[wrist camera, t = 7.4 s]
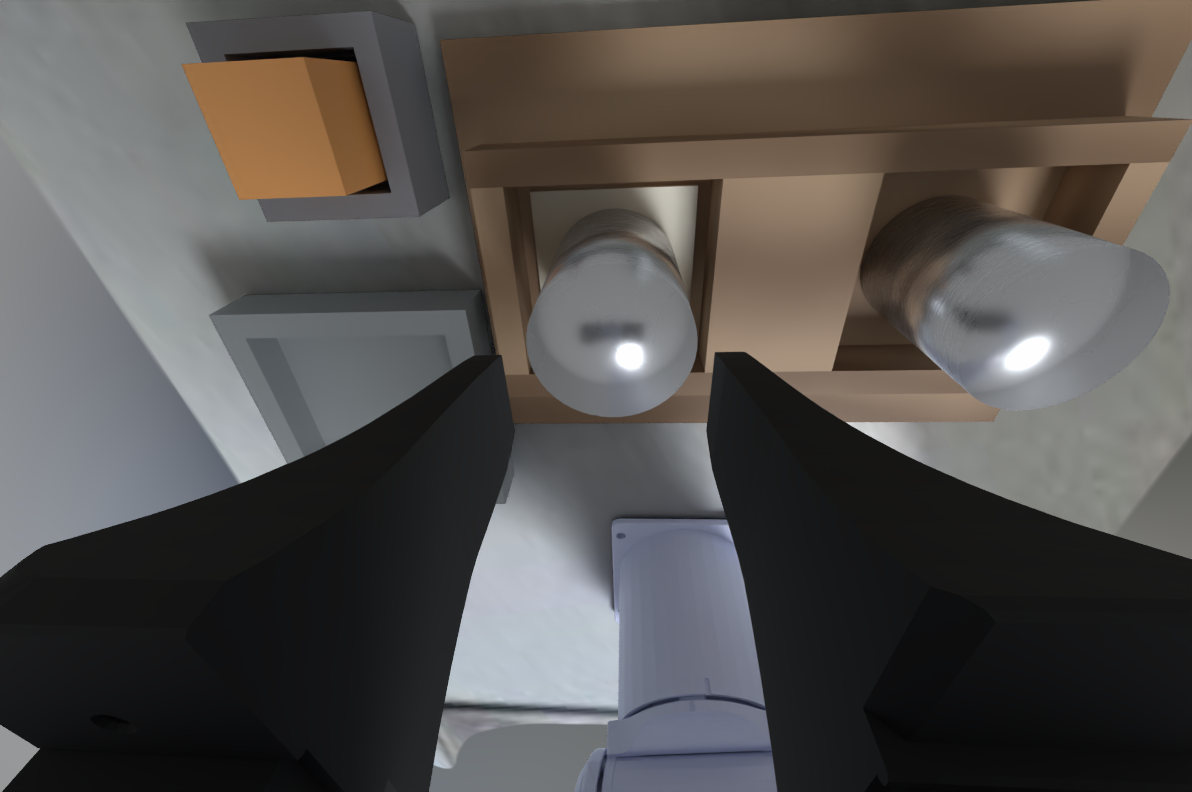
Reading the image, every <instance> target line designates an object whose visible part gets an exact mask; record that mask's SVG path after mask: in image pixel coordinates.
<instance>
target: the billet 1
mask: <svg viewBox="0 0 1192 792" xmlns="http://www.w3.org/2000/svg"><path fill="white" fill-rule="evenodd" d="M697 341H698V338H697V329H696V325H695V321H694V317H693V314H692V311H691V307H690V304H689V301H688V297H687V294H686V291H685V287H684V284H683V280H682V277H681V274H680V270H679V267H678V264H677V260H676V257H675V254H674V250H673V248H672V245H671V243H670V241H669V239H668V237H667V236H666V234H665V233H664V231H663V230H662V229H661V228H660V227H659V226H658V225H657V224H656V223H655V222H654V221H652V220H651V219H650V218H648V217H646V216H644V215H643V214H641V213H638V212H635V211H632V210H627V209H619V208H612V209H604V210H599V211H597V212H594V213H591V214H589V215H587V216H585V217H583V218H582V219H581V220H579V221H578V222H577V223H575V224H574V225H573V226H572V227H571V228H570V230H569V231H568V232H567V233H566V235H565V236H564V238H563V240H562V241H561V244H560V246H559V248H558V251H557V253H556V255H555V258H554V260H553V263H552V265H551V267H550V270H549V272H548V275H547V277H546V280H545V282H544V284H543V287H542V289H541V292H540V294H539V297H538V299H537V301H536V304H535V306H534V309H533V311H532V313H531V316H530V319H529V323H528V327H527V335H526V345H527V352H528V357H529V360H530V363H531V366H532V368H533V371H534V373H535V375H536V376H537V378H538V379H539V381H540V382H541V384H542V385H543V386H544V387H545V388H546V389H547V391H548V392H550V393H551V394H552V395H553V396H554V397H555V398H556V399H558V400H559V401H561V402H562V403H564V404H565V405H567V406H569V407H571V408H573V409H575V410H578V411H580V412H583V413H587V414H590V415H595V416H601V417H624V416H631V415H635V414H639V413H642V412H645V411H647V410H650V409H652V408H654V407H656V406H658V405H660V404H661V403H663V402H664V401H666V400H667V399H668V398H670V397H671V396H672V395H673V394H674V393H675V392H676V391H677V390H678V389H679V388H680V387H681V386H682V384H683V383H684V381H685V380H686V379H687V377H688V375H689V373H690V371H691V369H692V367H693V364H694V361H695V358H696V352H697Z"/></svg>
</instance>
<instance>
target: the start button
mask: <svg viewBox="0 0 1192 792" xmlns="http://www.w3.org/2000/svg"><path fill="white" fill-rule="evenodd" d="M182 67H183V69H184V71H185V74H186V76H187V78H188V81H189V83H190V85H191V88H192V90H193V92H194V95H195V97H196V99H197V102H198V104H199V106H200V109H201V111H202V113H203V116H204V118H205V120H206V123H207V125H208V127H209V130H210V132H211V134H212V137H213V139H214V141H215V144H216V146H217V148H218V151H219V153H220V155H221V158H222V160H223V162H224V165H225V167H226V169H227V172H228V174H229V176H230V179H231V181H232V183H233V186H234V188H235V190H236V193H237V195H238V197H239V200H246V199H272V198H299V197H325V196H347V195H349V194H352V193H355V192H357V191H360V190H362V189H365V188H368V187H370V186H373V185H375V184H378V183H381V182H383V181H386V180H388V178H387V174H386V170H385V166H384V162H383V159H382V155H381V151H380V147H379V143H378V140H377V136H376V132H375V128H374V124H373V120H372V117H371V113H370V109H369V105H368V101H367V97H366V94H365V90H364V86H363V82H362V78H361V74H360V71H359V67H358V63H357V62H349V61H339V60H328V59H318V58H308V57H296V58H279V59H262V60H245V61H228V62H210V63H193V64H182Z"/></svg>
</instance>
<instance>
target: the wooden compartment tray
mask: <svg viewBox="0 0 1192 792" xmlns="http://www.w3.org/2000/svg"><path fill="white" fill-rule="evenodd" d="M1191 39H1192V0H1098V1H1082V2H1065V3H1048V4H1031V5H1015V6H998V7H981V8H964V9H948V10H931V11H914V12H897V13H881V14H864V15H847V16H830V17H814V18H797V19H780V20H763V21H747V22H730V23H713V24H697V25H680V26H663V27H646V28H630V29H613V30H596V31H579V32H563V33H546V34H529V35H512V36H496V37H479V38H462V39H445V40H440V45H441V50H442V56H443V61H444V67H445V73H446V78H447V84H448V89H449V95H450V101H451V106H452V112H453V117H454V123H455V128H456V134H457V140H458V145H459V151H460V156H461V162H462V167H463V173H464V179H465V184H466V190H467V195H468V201H469V206H470V212H471V218H472V223H473V229H474V234H475V240H476V245H477V251H478V257H479V262H480V268H481V273H482V279H483V284H484V290H485V296H486V301H487V307H488V312H489V318H490V323H491V329H492V335H493V340H494V346H495V351H496V355H502V360H503V365H504V371H505V377H506V383H507V389H508V394H509V400H510V406H511V412H512V418H513V423H707V421H708V411H709V402H710V393H711V383H712V374H713V364H714V355H715V352H746V353H748V354H749V355H751V356H752V357H754V358H755V359H756V360H758V361H759V362H760V363H762V364H763V365H764V366H766V367H767V368H768V369H769V370H771V371H772V372H773V373H775V374H776V375H777V376H779V377H780V378H781V379H783V380H784V381H785V382H787V383H788V384H789V385H791V386H792V387H793V388H795V389H796V390H798V391H799V392H800V393H802V394H803V395H805V396H806V397H807V398H809V399H810V400H812V401H813V402H815V403H816V404H818V405H819V406H821V407H822V408H823V409H825V410H827V411H828V412H830V413H831V414H833V415H835V416H836V417H838V418H839V419H841V420H842V421H844V422H994V420H995V418H996V416H997V414H998V412H999V410H1000V409H999V408H995V407H992V406H988V405H986V404H984V403H982V402H980V401H978V400H977V399H976V398H974V397H973V396H972V395H970V394H969V393H968V392H967V391H966V390H965V389H964V388H963V387H961V386H960V385H959V384H958V383H957V382H956V381H955V380H954V379H952V378H951V377H950V376H949V375H948V374H947V373H946V372H945V371H943V370H942V369H941V368H940V367H939V366H938V365H937V364H935V363H934V362H933V361H932V360H931V359H930V358H929V357H928V356H926V355H925V354H924V353H923V352H922V351H921V350H920V349H919V348H917V347H916V346H915V345H914V344H913V343H912V342H911V341H910V340H908V339H907V338H906V337H905V336H904V335H903V334H902V333H901V332H899V331H898V330H897V329H896V328H895V327H894V326H893V325H892V324H890V323H889V322H888V321H887V320H886V319H885V318H884V317H882V316H881V315H880V314H879V313H878V312H877V311H876V310H875V309H874V308H873V307H872V306H871V305H870V304H869V303H868V302H867V300H866V299H865V296H864V294H863V291H862V287H861V269H862V264H863V261H864V258H865V255H866V253H867V251H868V248H869V247H870V245H871V243H872V242H873V240H874V239H875V237H876V236H877V235H878V233H879V232H880V231H881V230H882V229H883V228H884V226H885V225H886V224H887V223H889V222H890V221H891V220H892V219H893V218H894V217H895V216H897V215H898V214H900V213H901V212H902V211H904V210H906V209H907V208H909V207H911V206H912V205H915V204H917V203H919V202H921V201H924V200H927V199H930V198H933V197H938V196H944V195H961V196H966V197H970V198H973V199H976V200H980V201H983V202H986V203H989V204H992V205H995V206H998V207H1002V208H1005V209H1008V210H1011V211H1014V212H1017V213H1021V214H1024V215H1027V216H1030V217H1033V218H1036V219H1040V220H1043V221H1046V222H1049V223H1052V224H1055V225H1059V226H1062V227H1065V228H1068V229H1071V230H1074V231H1077V232H1081V233H1084V234H1087V235H1090V236H1093V237H1096V238H1100V239H1103V240H1106V241H1109V242H1112V243H1115V244H1119V245H1122V246H1123V244H1124V242H1125V241H1126V239H1127V237H1128V235H1129V233H1130V232H1131V230H1132V228H1133V226H1134V225H1135V223H1136V221H1137V219H1138V217H1139V216H1140V214H1141V212H1142V210H1143V208H1144V207H1145V205H1146V203H1147V201H1148V200H1149V198H1150V196H1151V194H1152V192H1153V191H1154V189H1155V187H1156V185H1157V184H1158V182H1159V180H1160V178H1161V176H1162V175H1163V173H1164V171H1165V169H1166V167H1167V166H1168V164H1169V162H1170V160H1171V159H1172V157H1173V155H1174V153H1175V151H1176V150H1177V148H1178V146H1179V144H1180V143H1181V141H1182V139H1183V137H1184V135H1185V134H1186V132H1187V130H1188V128H1189V126H1190V125H1191V123H1192V119H1174V118H1155V117H1152V115H1153V113H1154V111H1155V109H1156V107H1157V105H1158V103H1159V101H1160V99H1161V97H1162V95H1163V94H1164V92H1165V90H1166V88H1167V86H1168V84H1169V82H1170V80H1171V78H1172V76H1173V74H1174V72H1175V70H1176V68H1177V66H1178V65H1179V63H1180V61H1181V59H1182V57H1183V55H1184V53H1185V51H1186V49H1187V47H1188V45H1189V43H1190V41H1191ZM612 208H619V209H627V210H632V211H635V212H638V213H641V214H643V215H644V216H646V217H648V218H650V219H651V220H652V221H654V222H655V223H656V224H657V225H658V226H659V227H660V228H661V229H662V230H663V231H664V233H665V234H666V236H667V237H668V239H669V241H670V243H671V245H672V248H673V250H674V254H675V257H676V260H677V264H678V267H679V270H680V274H681V277H682V280H683V284H684V287H685V291H686V294H687V297H688V301H689V304H690V307H691V311H692V314H693V317H694V321H695V325H696V329H697V338H698V341H697V352H696V358H695V361H694V364H693V367H692V369H691V371H690V373H689V375H688V377H687V379H686V380H685V381H684V383H683V384H682V386H681V387H680V388H679V389H678V390H677V391H676V392H675V393H674V394H673V395H672V396H671V397H670V398H668V399H667V400H666V401H664V402H663V403H661V404H660V405H658V406H656V407H654V408H652V409H650V410H647V411H645V412H642V413H639V414H635V415H631V416H624V417H601V416H595V415H590V414H587V413H583V412H580V411H578V410H575V409H573V408H571V407H569V406H567V405H565V404H564V403H562V402H561V401H559V400H558V399H556V398H555V397H554V396H553V395H552V394H551V393H550V392H548V391H547V389H546V388H545V387H544V386H543V385H542V384H541V382H540V381H539V379H538V378H537V376H536V375H535V373H534V371H533V368H532V366H531V363H530V360H529V357H528V352H527V345H526V335H527V327H528V323H529V319H530V316H531V313H532V311H533V309H534V306H535V304H536V301H537V299H538V297H539V294H540V292H541V289H542V287H543V284H544V282H545V280H546V277H547V275H548V272H549V270H550V267H551V265H552V263H553V260H554V258H555V255H556V253H557V251H558V248H559V246H560V244H561V241H562V240H563V238H564V236H565V235H566V233H567V232H568V231H569V230H570V228H571V227H572V226H573V225H574V224H575V223H577V222H578V221H579V220H581V219H582V218H583V217H585V216H587V215H589V214H591V213H594V212H597V211H599V210H604V209H612Z"/></svg>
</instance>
